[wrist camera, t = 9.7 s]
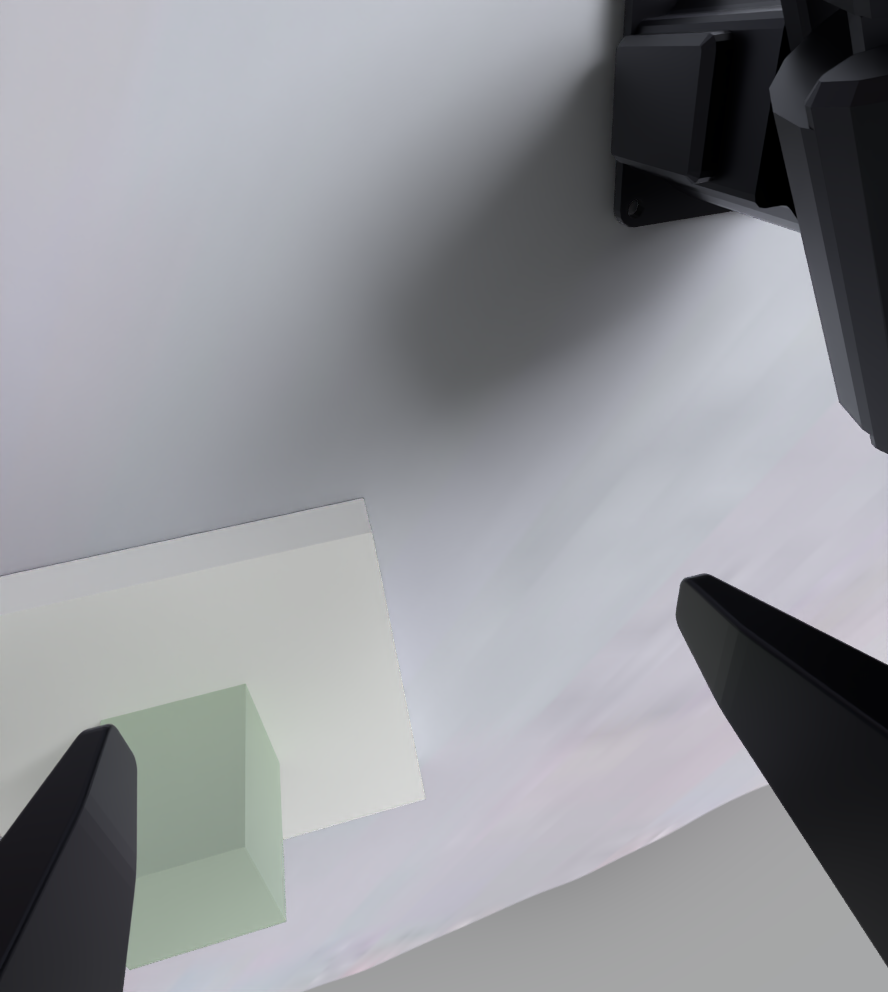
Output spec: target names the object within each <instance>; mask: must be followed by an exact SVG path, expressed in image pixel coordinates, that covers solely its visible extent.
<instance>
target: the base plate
mask: <svg viewBox="0 0 888 992" xmlns="http://www.w3.org/2000/svg"><path fill="white" fill-rule="evenodd" d="M242 684H246V685H247V688H248V690H249V692H250V695H251V697H252V699H253V702H254V704H255V706H256V709H257V711H258V713H259V716H260V718H261V721H262V723H263V725H264V728H265V730H266V732H267V735H268V737H269V739H270V742H271V744H272V746H273V749H274V751H275V753H276V756H277V758H278V761H279V763H280V786H281V809H282V833H283V840H285V839H289V838H292V837H296V836H299V835H303V834H306V833H310V832H313V831H317V830H320V829H324V828H327V827H331V826H334V825H337V824H341V823H344V822H348V821H351V820H355V819H358V818H362V817H365V816H369V815H372V814H376V813H379V812H383V811H386V810H390V809H393V808H397V807H400V806H403V805H407V804H410V803H414V802H417V801H421V800H424V799H426V798H425V793H424V788H423V783H422V778H421V773H420V768H419V763H418V758H417V753H416V748H415V743H414V738H413V733H412V728H411V723H410V718H409V713H408V708H407V703H406V698H405V693H404V688H403V683H402V678H401V673H400V668H399V663H398V658H397V653H396V648H395V643H394V638H393V633H392V628H391V623H390V619H389V614H388V609H387V604H386V599H385V594H384V589H383V584H382V579H381V574H380V569H379V564H378V559H377V554H376V549H375V544H374V539H373V534H372V529H371V525H370V522H369V518H368V514H367V510H366V506H365V502H364V498H360V499H356V500H351V501H346V502H342V503H337V504H333V505H328V506H323V507H319V508H314V509H309V510H305V511H300V512H296V513H291V514H286V515H282V516H277V517H273V518H268V519H263V520H259V521H254V522H249V523H245V524H240V525H236V526H231V527H226V528H222V529H217V530H212V531H208V532H203V533H199V534H194V535H189V536H185V537H180V538H176V539H171V540H166V541H162V542H157V543H152V544H148V545H143V546H139V547H134V548H129V549H125V550H120V551H116V552H111V553H106V554H102V555H97V556H92V557H88V558H83V559H79V560H74V561H69V562H65V563H60V564H56V565H51V566H46V567H42V568H37V569H32V570H28V571H23V572H19V573H14V574H9V575H5V576H0V836H1V837H3V836H4V835H5V833H6V832H7V831H8V829H9V828H10V827H11V825H12V824H13V823H14V821H15V820H16V819H17V817H18V816H19V814H20V813H21V812H22V810H23V809H24V808H25V806H26V805H27V804H28V802H29V801H30V800H31V798H32V797H33V795H34V794H35V793H36V791H37V790H38V789H39V787H40V786H41V785H42V783H43V782H44V781H45V779H46V778H47V776H48V775H49V774H50V772H51V771H52V770H53V768H54V767H55V766H56V764H57V763H58V762H59V760H60V759H61V758H62V756H63V755H64V753H65V752H66V751H67V749H68V748H69V747H70V745H71V744H72V743H73V741H74V740H75V739H76V737H77V736H78V735H79V734H80V733H81V732H82V731H84V730H86V729H89V728H93V727H97V726H100V723H101V720H104V719H108V718H112V717H116V716H120V715H124V714H128V713H132V712H136V711H140V710H144V709H147V708H151V707H155V706H159V705H163V704H167V703H171V702H175V701H179V700H183V699H187V698H191V697H195V696H199V695H202V694H206V693H210V692H214V691H218V690H222V689H226V688H230V687H234V686H238V685H242Z"/></svg>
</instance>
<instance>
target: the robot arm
mask: <svg viewBox="0 0 888 992" xmlns="http://www.w3.org/2000/svg"><path fill="white" fill-rule="evenodd" d="M611 153H612V155H613V156H614V157H615V158H616V178H615V196H614V215H615V217H616V219H617V220H618V221H619V222H620V223H622V224H624V225H626V226H628V227H638V226H645V225H651V224H657V223H663V222H669V221H675V220H681V219H687V218H693V217H699V216H705V215H711V214H717V213H723V212H729V211H736V212H739V213H742V214H745V215H748V216H751V217H754V218H757V219H760V220H763V221H766V222H769V223H772V224H775V225H778V226H781V227H784V228H788V229H791V230H794V231H797V232H800V233H801V237H802V241H803V245H804V250H805V254H806V259H807V263H808V267H809V272H810V276H811V281H812V285H813V289H814V294H815V298H816V303H817V307H818V311H819V316H820V320H821V324H822V329H823V333H824V338H825V342H826V346H827V351H828V355H829V360H830V364H831V368H832V373H833V377H834V382H835V386H836V390H837V395H838V399H839V403H840V404H841V405H842V406H843V407H844V409H845V410H846V411H847V412H848V413H849V414H850V416H851V417H852V418H853V419H854V420H855V421H856V423H857V424H858V425H859V426H860V427H861V428H862V429H863V430H864V431H866V432H867V433H868V434H870V439H871V444H872V445H873V446H874V447H875V448H877V449H879V450H881V451H883V452H885V453H887V454H888V0H625V16H624V34H623V39H622V41H621V42H620V44H619V45H618V47H617V49H616V64H615V83H614V103H613V123H612V143H611ZM634 200H637V202H638V206H637V210H636V211H635V212H634V213H633V214H631V215H629V214H628V208H629V205H630V204H631V202H632V201H634ZM676 621H677V624H678V627H679V629H680V631H681V633H682V635H683V637H684V639H685V641H686V643H687V645H688V647H689V649H690V651H691V653H692V655H693V657H694V659H695V661H696V663H697V665H698V667H699V668H700V670H701V672H702V674H703V676H704V678H705V680H706V682H707V684H708V686H709V688H710V690H711V692H712V694H713V696H714V698H715V700H716V702H717V703H718V705H719V707H720V709H721V710H722V712H723V714H724V715H725V717H726V718H727V720H728V722H729V723H730V725H731V726H732V728H733V729H734V731H735V732H736V734H737V736H738V737H739V739H740V740H741V742H742V743H743V745H744V746H745V748H746V749H747V751H748V752H749V754H750V756H751V757H752V759H753V760H754V762H755V763H756V765H757V766H758V768H759V769H760V771H761V773H762V774H763V776H764V777H765V779H766V780H767V782H768V783H769V785H770V786H771V788H772V789H773V791H774V793H775V794H776V796H777V797H778V799H779V800H780V802H781V803H782V805H783V806H784V808H785V810H786V811H787V813H788V814H789V816H790V817H791V819H792V820H793V822H794V823H795V825H796V826H797V828H798V830H799V831H800V833H801V834H802V836H803V837H804V839H805V840H806V842H807V843H808V845H809V846H810V848H811V850H812V851H813V853H814V854H815V856H816V857H817V859H818V860H819V862H820V863H821V865H822V867H823V868H824V870H825V871H826V873H827V874H828V876H829V877H830V879H831V880H832V882H833V884H834V885H835V887H836V888H837V890H838V891H839V893H840V894H841V896H842V897H843V898H844V900H845V902H846V904H847V905H848V907H849V908H850V910H851V911H852V913H853V914H854V916H855V917H856V919H857V920H858V922H859V924H860V925H861V927H862V928H863V930H864V931H865V933H866V934H867V936H868V938H869V939H870V940H871V942H872V943H873V945H874V947H875V948H876V950H877V951H878V953H879V954H880V956H881V957H882V959H883V960H884V962H885V964H886V965H887V967H888V665H887V664H885V663H883V662H881V661H879V660H877V659H875V658H873V657H871V656H869V655H867V654H865V653H863V652H862V651H860V650H858V649H856V648H854V647H852V646H850V645H848V644H846V643H844V642H842V641H840V640H838V639H836V638H834V637H832V636H830V635H828V634H826V633H824V632H822V631H820V630H818V629H816V628H814V627H812V626H810V625H808V624H806V623H804V622H802V621H801V620H799V619H797V618H795V617H793V616H791V615H789V614H787V613H785V612H783V611H781V610H779V609H777V608H775V607H773V606H771V605H769V604H767V603H765V602H763V601H761V600H759V599H757V598H755V597H753V596H751V595H749V594H747V593H745V592H743V591H741V590H740V589H738V588H736V587H734V586H732V585H730V584H728V583H726V582H724V581H722V580H720V579H718V578H716V577H714V576H712V575H709V574H699V575H695V576H691V577H687V578H684V579H683V580H682V582H681V584H680V589H679V595H678V601H677V607H676ZM136 870H137V763H136V759H135V756H134V754H133V752H132V751H131V749H130V748H129V746H128V744H127V743H126V741H125V740H124V738H123V737H122V735H121V733H120V732H119V730H118V729H117V728H116V726H114V725H113V724H105V725H101V726H97V727H93V728H89V729H86V730H84V731H82V732H81V733H80V734H79V735H78V736H77V737H76V739H75V740H74V741H73V743H72V744H71V745H70V747H69V748H68V749H67V751H66V752H65V753H64V755H63V756H62V758H61V759H60V760H59V762H58V763H57V764H56V766H55V767H54V768H53V770H52V771H51V772H50V774H49V775H48V776H47V778H46V779H45V781H44V782H43V783H42V785H41V786H40V787H39V789H38V790H37V791H36V793H35V794H34V795H33V797H32V798H31V800H30V801H29V802H28V804H27V805H26V806H25V808H24V809H23V810H22V812H21V813H20V814H19V816H18V817H17V819H16V820H15V821H14V823H13V824H12V825H11V827H10V828H9V829H8V831H7V832H6V833H5V835H4V836H3V837H2V839H1V840H0V992H123V986H124V977H125V969H126V961H127V952H128V944H129V935H130V927H131V919H132V910H133V902H134V894H135V883H136Z"/></svg>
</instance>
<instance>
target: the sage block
mask: <svg viewBox="0 0 888 992" xmlns="http://www.w3.org/2000/svg"><path fill="white" fill-rule="evenodd" d="M105 724H113V725H114V726H116V728H117V729H118V730H119V732H120V733H121V735H122V737H123V738H124V740H125V741H126V743H127V744H128V746H129V748H130V749H131V751H132V752H133V754H134V756H135V759H136V763H137V870H136V883H135V894H134V902H133V910H132V919H131V927H130V935H129V944H128V952H127V961H126V967H127V968H128V969H129V970H132V969H135V968H138V967H141V966H145V965H148V964H151V963H154V962H157V961H161V960H164V959H167V958H170V957H174V956H177V955H180V954H183V953H187V952H190V951H193V950H196V949H200V948H203V947H206V946H209V945H213V944H216V943H219V942H222V941H226V940H229V939H232V938H235V937H239V936H242V935H245V934H248V933H252V932H255V931H258V930H261V929H265V928H268V927H271V926H274V925H277V924H281V923H284V922H286V902H285V879H284V856H283V833H282V809H281V786H280V763H279V761H278V758H277V756H276V753H275V751H274V749H273V746H272V744H271V742H270V739H269V737H268V735H267V732H266V730H265V728H264V725H263V723H262V721H261V718H260V716H259V713H258V711H257V709H256V706H255V704H254V702H253V699H252V697H251V695H250V692H249V690H248V688H247V685H246V684H242V685H238V686H234V687H230V688H226V689H222V690H218V691H214V692H210V693H206V694H202V695H199V696H195V697H191V698H187V699H183V700H179V701H175V702H171V703H167V704H163V705H159V706H155V707H151V708H147V709H144V710H140V711H136V712H132V713H128V714H124V715H120V716H116V717H112V718H108V719H104V720H101V723H100V726H101V725H105Z"/></svg>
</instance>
